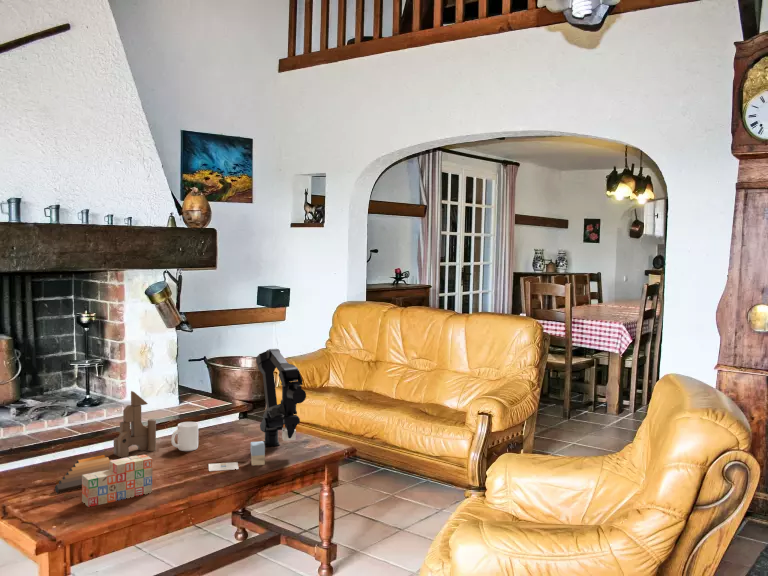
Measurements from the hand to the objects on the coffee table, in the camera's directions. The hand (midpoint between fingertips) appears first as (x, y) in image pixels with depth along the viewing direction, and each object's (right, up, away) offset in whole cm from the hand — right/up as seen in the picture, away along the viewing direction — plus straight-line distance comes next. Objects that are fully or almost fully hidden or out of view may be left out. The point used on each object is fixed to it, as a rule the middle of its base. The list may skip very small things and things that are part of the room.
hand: (288, 436), depth 277 cm
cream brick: (0, -1, 0) cm, 1 cm away
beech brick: (-11, -9, -8) cm, 16 cm away
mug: (-45, -7, +7) cm, 46 cm away
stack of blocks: (-51, -11, -46) cm, 70 cm away
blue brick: (-11, -5, -9) cm, 15 cm away
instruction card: (-23, -9, -14) cm, 28 cm away
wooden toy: (-63, -7, +2) cm, 63 cm away
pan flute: (-72, -10, -27) cm, 77 cm away
